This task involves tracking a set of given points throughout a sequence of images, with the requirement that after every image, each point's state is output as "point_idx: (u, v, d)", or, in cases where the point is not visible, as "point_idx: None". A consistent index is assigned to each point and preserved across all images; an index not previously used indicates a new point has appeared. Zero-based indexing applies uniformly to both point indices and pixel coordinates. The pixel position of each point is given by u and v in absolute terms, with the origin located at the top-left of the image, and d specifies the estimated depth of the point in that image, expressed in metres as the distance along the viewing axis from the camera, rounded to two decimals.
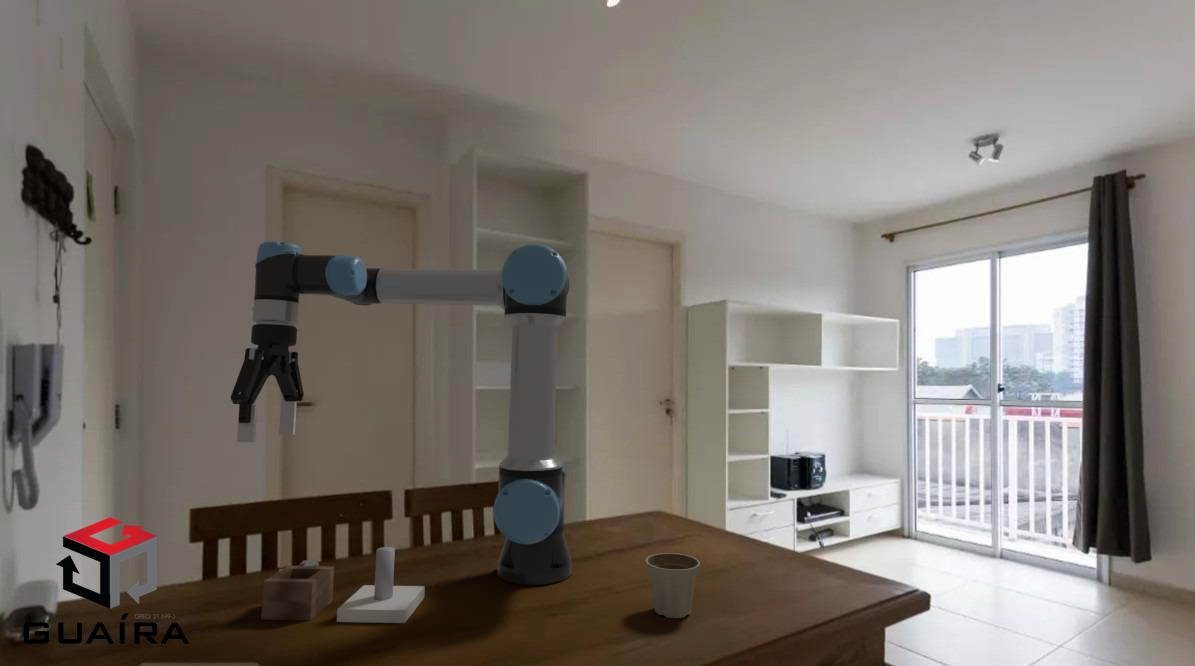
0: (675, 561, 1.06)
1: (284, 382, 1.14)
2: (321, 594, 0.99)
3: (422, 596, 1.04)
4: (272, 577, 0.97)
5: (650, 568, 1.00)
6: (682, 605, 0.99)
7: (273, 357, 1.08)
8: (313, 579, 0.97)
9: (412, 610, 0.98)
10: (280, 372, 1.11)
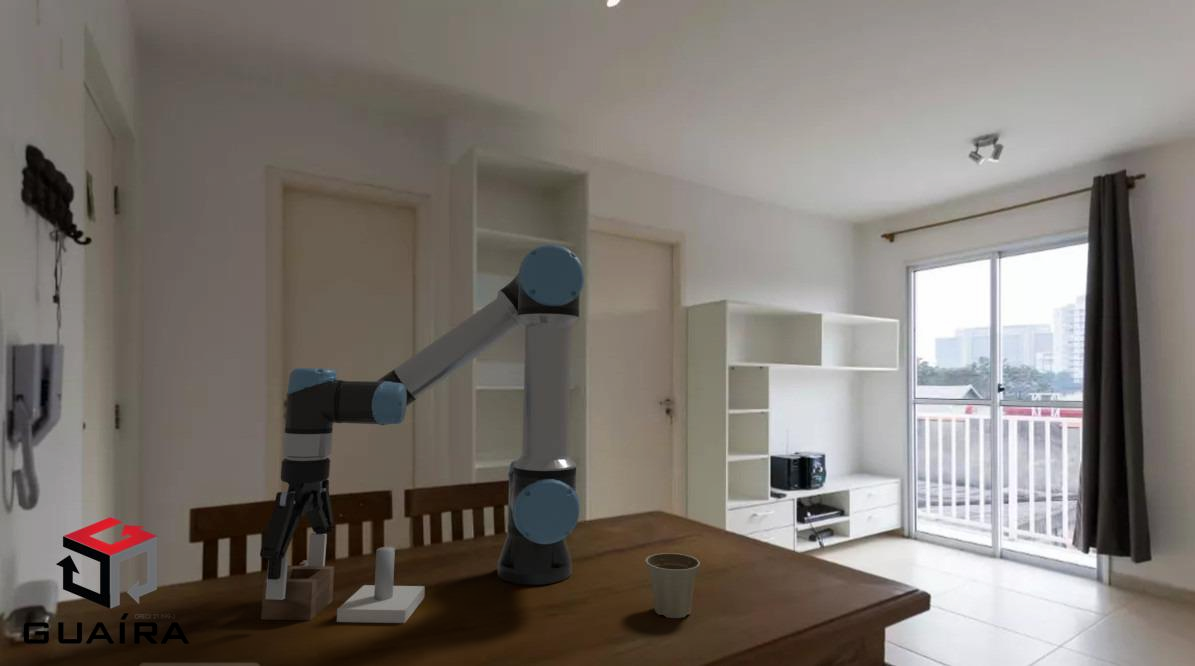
0: (675, 561, 1.06)
1: (315, 516, 1.04)
2: (321, 594, 0.99)
3: (422, 596, 1.04)
4: None
5: (650, 568, 1.00)
6: (682, 605, 0.99)
7: (305, 496, 0.99)
8: (313, 579, 0.97)
9: (412, 610, 0.98)
10: (311, 509, 1.01)
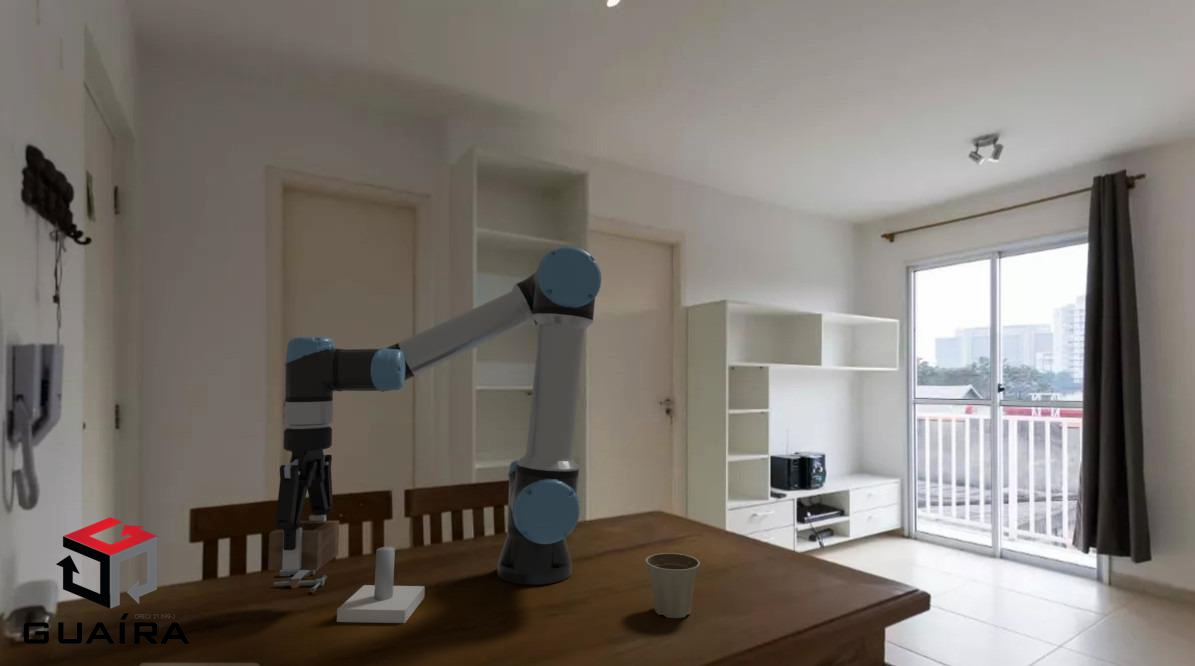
0: (675, 561, 1.06)
1: (316, 491, 1.03)
2: (327, 546, 0.99)
3: (422, 596, 1.04)
4: (278, 530, 0.98)
5: (650, 568, 1.00)
6: (682, 605, 0.99)
7: (308, 465, 0.99)
8: (319, 530, 0.98)
9: (412, 610, 0.98)
10: (315, 477, 1.02)
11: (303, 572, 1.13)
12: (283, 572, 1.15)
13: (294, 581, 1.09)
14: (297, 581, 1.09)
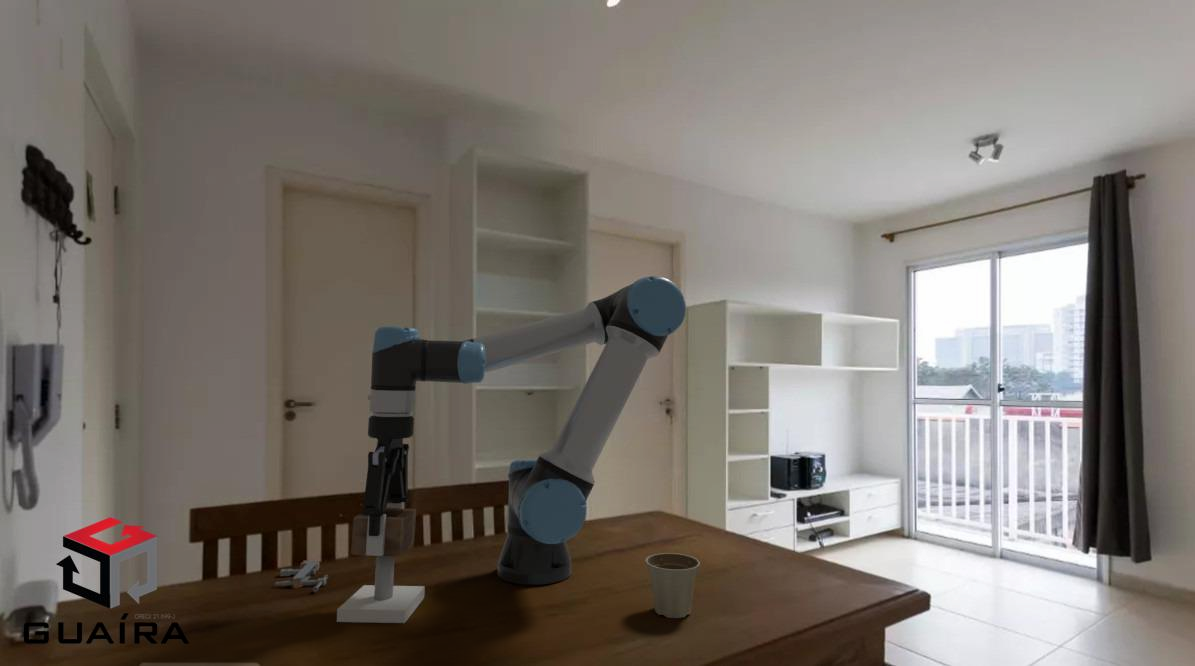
0: (675, 561, 1.06)
1: (395, 479, 1.05)
2: (407, 533, 1.01)
3: (422, 596, 1.04)
4: (360, 515, 0.99)
5: (650, 568, 1.00)
6: (682, 605, 0.99)
7: (392, 453, 1.00)
8: (401, 517, 0.99)
9: (412, 610, 0.98)
10: (396, 465, 1.03)
11: (304, 572, 1.13)
12: (284, 572, 1.15)
13: (296, 581, 1.09)
14: (299, 581, 1.10)
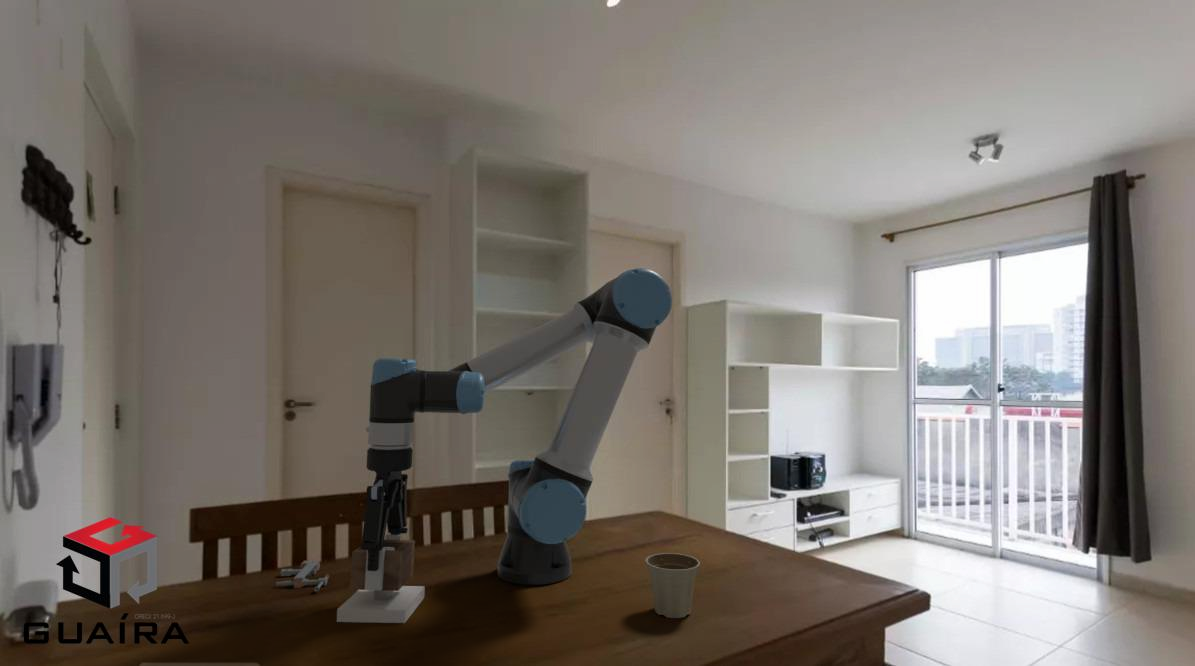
0: (675, 561, 1.06)
1: (393, 510, 1.04)
2: (405, 566, 1.00)
3: (422, 596, 1.04)
4: (359, 549, 0.99)
5: (650, 568, 1.00)
6: (682, 605, 0.99)
7: (391, 486, 1.00)
8: (400, 550, 0.98)
9: (412, 610, 0.98)
10: (395, 497, 1.03)
11: (305, 572, 1.13)
12: (284, 572, 1.15)
13: (297, 580, 1.09)
14: (300, 580, 1.10)
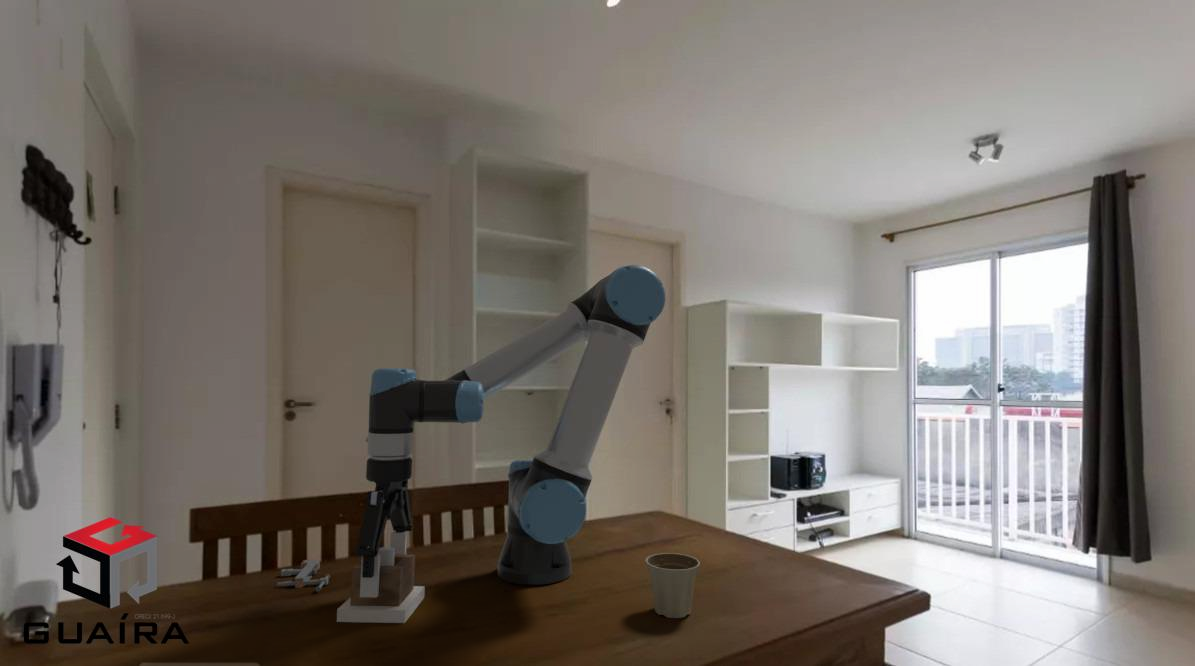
0: (675, 561, 1.06)
1: (396, 515, 1.06)
2: (406, 581, 1.00)
3: (422, 596, 1.04)
4: (359, 565, 0.98)
5: (650, 568, 1.00)
6: (682, 605, 0.99)
7: (391, 495, 1.00)
8: (400, 566, 0.98)
9: (412, 610, 0.98)
10: (395, 508, 1.02)
11: (306, 572, 1.13)
12: (285, 572, 1.15)
13: (298, 581, 1.09)
14: (301, 581, 1.10)
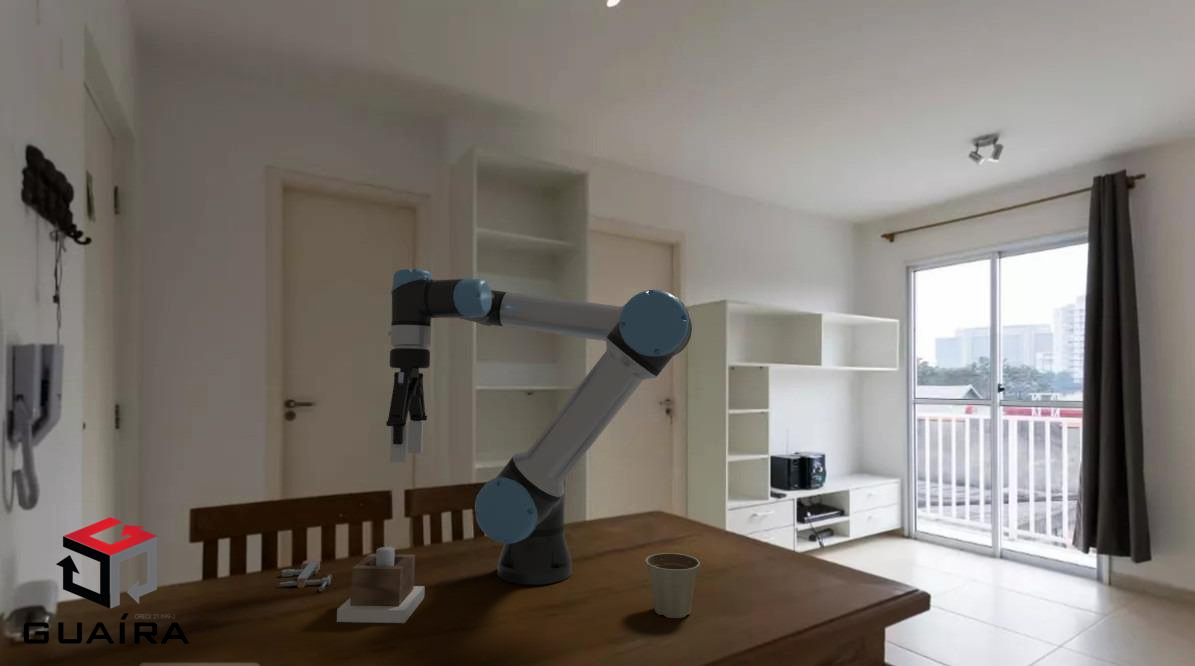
0: (675, 561, 1.06)
1: (414, 403, 1.19)
2: (406, 581, 1.00)
3: (422, 596, 1.04)
4: (359, 565, 0.98)
5: (650, 568, 1.00)
6: (682, 605, 0.99)
7: (413, 380, 1.13)
8: (400, 566, 0.98)
9: (412, 610, 0.98)
10: (415, 394, 1.16)
11: (308, 572, 1.13)
12: (286, 572, 1.15)
13: (300, 581, 1.10)
14: (303, 581, 1.10)
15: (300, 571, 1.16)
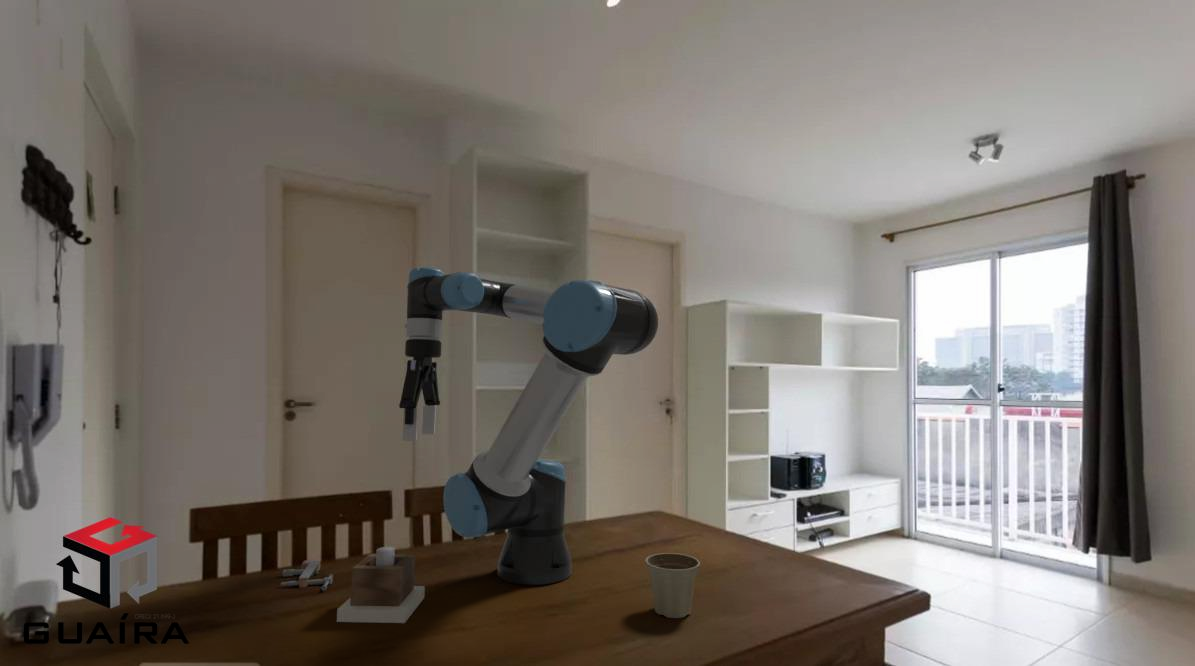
0: (675, 561, 1.06)
1: (428, 389, 1.31)
2: (406, 581, 1.00)
3: (422, 596, 1.04)
4: (359, 565, 0.98)
5: (650, 568, 1.00)
6: (682, 605, 0.99)
7: (425, 367, 1.25)
8: (400, 566, 0.98)
9: (412, 610, 0.98)
10: (428, 380, 1.28)
11: (309, 571, 1.13)
12: (286, 572, 1.15)
13: (302, 580, 1.10)
14: (305, 580, 1.10)
15: (301, 571, 1.16)
